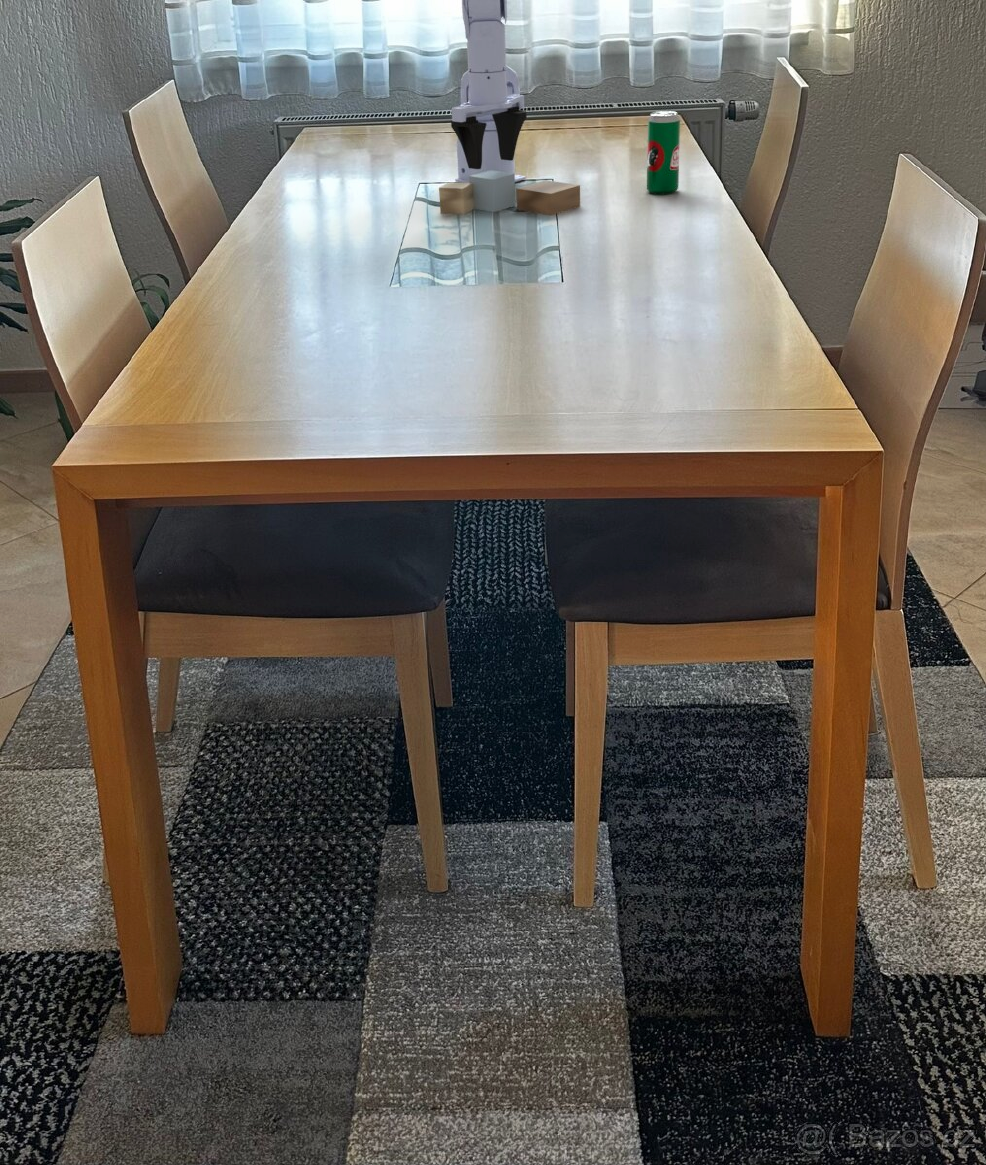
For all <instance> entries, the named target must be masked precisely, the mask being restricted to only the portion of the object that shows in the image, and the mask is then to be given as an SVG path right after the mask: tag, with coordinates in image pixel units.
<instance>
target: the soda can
mask: <svg viewBox="0 0 986 1165" xmlns="http://www.w3.org/2000/svg"><path fill="white" fill-rule="evenodd" d="M678 115H679V113H678V112H676V111H667V110H665V111H663V110H662V111H661V110H660V111H654V112H651V113H650V115H649V116H650V117H649V118H648V119H647V137H646V138H647V141H646V142H647V143H646V144H647V146H646V151H647V152H646V155H647V156H646V158H647V159H646V190H647V191H648V193H650V194H653V195H660V196H661V195H663V196H664V195H671V194H674V193H676V192H677V191H678V190H679V183H680V181H679V179H680V178H679V177H680V145H681V144H680V141H681V140H680V139H681V119H680V118H679V116H678Z"/></svg>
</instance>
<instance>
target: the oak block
mask: <svg viewBox="0 0 986 1165" xmlns="http://www.w3.org/2000/svg"><path fill="white" fill-rule="evenodd" d="M438 193H439V194H438V195H439V208H440V210H439V211H440V214H443V215H462V216H463V215H464V216H465V215H467V213H469V212H471V211H473V210H475V209H474V196H473V183H461V182H456V181H455V182H452V181H451V182H448V183H445V184H443V185H441V186H439V187H438Z"/></svg>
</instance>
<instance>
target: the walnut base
mask: <svg viewBox="0 0 986 1165" xmlns="http://www.w3.org/2000/svg"><path fill="white" fill-rule="evenodd" d="M515 202H516V210H517V209H518V211H522V210H524V212H530V213H537V214H541V215H547V216H553V215H556V214H559V212H560V213H563V212H567V211H570V210H573V209H575V207H576V208H579V207H581V184H580V185H579V184H575V183H567V182H560V181H555V180H548V179H547V180H546V179H544V180H541V181H537V182H535V183H534V182H533V183H530V184H527V185H524V186H519V187H515ZM572 208H573V209H572ZM569 209H570V210H569ZM562 211H563V212H562Z"/></svg>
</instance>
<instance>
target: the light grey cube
mask: <svg viewBox="0 0 986 1165" xmlns="http://www.w3.org/2000/svg"><path fill="white" fill-rule="evenodd" d="M515 175H516V174H515ZM515 175H514V174H513V173H506V172H499V171H493V170H490V171H486V172H482V173H479V174H475V175H471V176H469V183H473V196H474V209H473V210H478V211H485V212H491V213H496V212H499V211H502V209H503V210H506V209H509V207H510V208H512V207H516V182H515Z"/></svg>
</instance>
